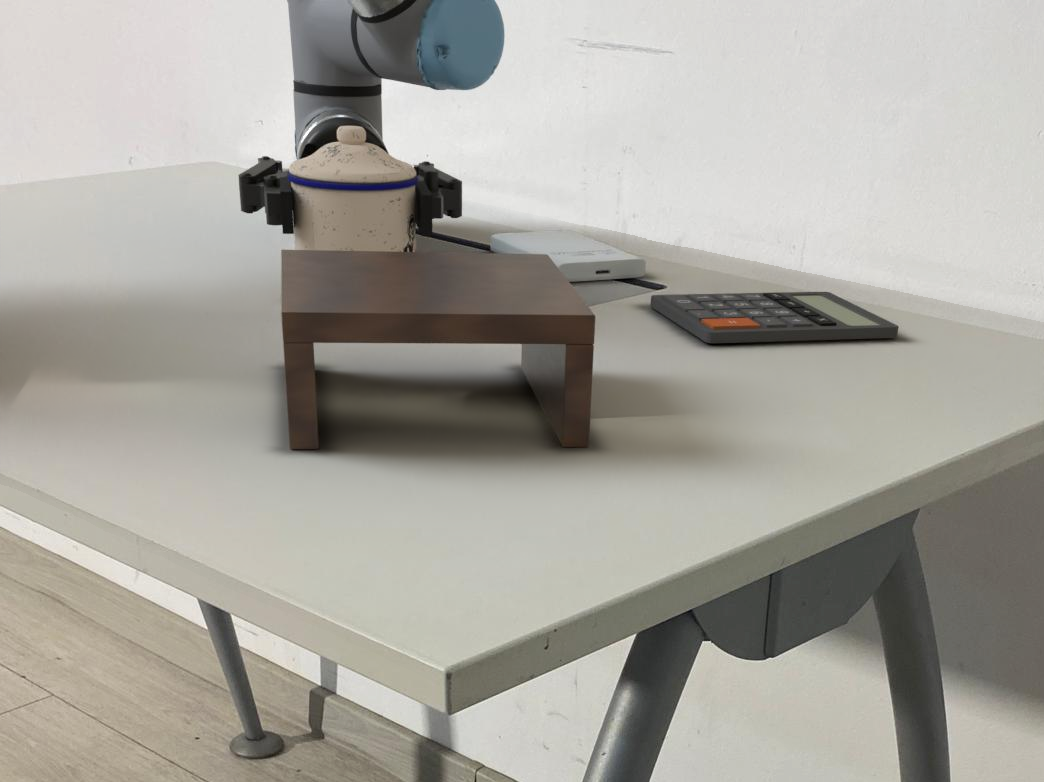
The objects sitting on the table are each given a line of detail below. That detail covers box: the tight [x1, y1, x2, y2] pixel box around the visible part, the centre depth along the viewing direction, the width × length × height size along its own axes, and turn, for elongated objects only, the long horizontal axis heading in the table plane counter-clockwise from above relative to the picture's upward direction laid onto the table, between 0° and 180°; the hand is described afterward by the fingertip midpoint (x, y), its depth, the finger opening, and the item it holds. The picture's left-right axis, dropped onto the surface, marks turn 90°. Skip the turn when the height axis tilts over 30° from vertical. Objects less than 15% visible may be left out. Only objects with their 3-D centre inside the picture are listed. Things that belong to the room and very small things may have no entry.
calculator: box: [649, 291, 900, 344], centre depth 105 cm, size 12×1×15 cm
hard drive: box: [489, 230, 647, 283], centre depth 120 cm, size 2×8×12 cm
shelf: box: [280, 249, 596, 450], centre depth 81 cm, size 16×16×7 cm
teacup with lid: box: [287, 126, 418, 252], centre depth 103 cm, size 12×9×12 cm
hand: (357, 214), depth 99 cm, fingers closed on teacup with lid, 9 cm apart
